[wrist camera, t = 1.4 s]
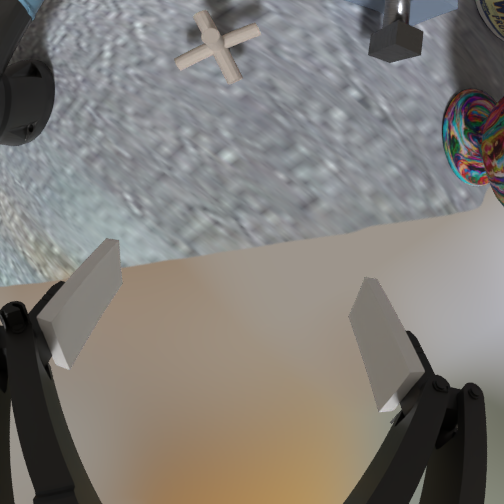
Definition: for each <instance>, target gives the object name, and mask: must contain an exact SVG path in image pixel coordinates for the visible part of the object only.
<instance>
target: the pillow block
mask: <svg viewBox="0 0 504 504" xmlns="http://www.w3.org/2000/svg"><path fill="white" fill-rule="evenodd" d="M345 1H349V2H352V3H355V4H358V5H361V6H364V7H367V8H370V9H373V10H375V11H378V12H381V13H383V14H384V9H385V0H345ZM456 9H458V0H411V5H410V19H409V25H411V26H413V25H416V24H418V23H420V22H423V21H425V20H428V19H431V18H433V17H436V16H439V15H441V14H444V13H447V12H450V11H453V10H456Z"/></svg>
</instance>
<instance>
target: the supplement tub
mask: <svg viewBox="0 0 504 504" xmlns="http://www.w3.org/2000/svg"><path fill="white" fill-rule="evenodd" d="M475 1H476V5H477V8H478V11H479V13H480V15H481V17H482V18H483V20H484V22H485V23H486V25H487V26H488V27H489V28H490V30H491V31H492V32H493V33H494V34H495V35H496V36H497V37H499V38H500V39H501V40H503V41H504V0H475Z"/></svg>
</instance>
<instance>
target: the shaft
mask: <svg viewBox="0 0 504 504" xmlns="http://www.w3.org/2000/svg"><path fill="white" fill-rule="evenodd" d="M410 5H411V0H385V9H384V18H383V27H382V29H381V30H379V31H377V32H375V33H374V34H372V35H371V38H370V46H369V52H368V55H369V56H372V57H375V58H378V59H381V60H383V61H386V62H389V63H391V62H395V61H399V60H403V59H407V58H411V57H416V56H420V55H421V50H422V40H423V31H421V30H419V29H417V28H415V27H412V26H410V25H409V19H410Z"/></svg>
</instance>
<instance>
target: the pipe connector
mask: <svg viewBox="0 0 504 504" xmlns="http://www.w3.org/2000/svg"><path fill="white" fill-rule="evenodd" d="M193 18H194V20H195V22H196V24H197V25H198V27H199V29H200V31H201V33H202V35H201V39H202V41H203V42H204V44H202V45H200V46H198V47H196V48H194V49H192V50H190V51H188V52H186V53H184V54H182V55H180V56H179V57H177V58H175V59H174V61H175V63H176V65H177V67H178V68H179V69H180V70H183V69H185V68H187V67H189V66H191V65H193V64H195V63H197V62H199V61H201V60H203V59H205V58H207V57H210V56H212V55H214V57H215V59H216V61H217V63H218V65H219V67H220V69H221V71H222V73H223V75H224V77H225V79H226V81H227V83H228V84H232V83H235V82H237V81H239V80H241V79H243V77H242V75H241V73H240V71H239V69H238V67H237V65H236V63H235V61H234V59H233V57H232V55H231V53H230V51H229V49H228V48H230V47H232V46H234V45H237V44H239V43H242V42H244V41H247V40H249V39H252V38H255V37H257V36H260V35H261V32H260V30H259V28H258V26H257V25H256V23H252V24H250V25H247V26H244V27H242V28H239V29H237V30H234V31H232V32H229V33H227V34H225V35H222V36H221V34H220V33H219V31H218V29H217V27H216V25H215V23H214V22H213V20H212V18H211V16H210V14H209V13H208V11H206V10H204V11H200V12H198V13H196V14H195V15H194V16H193Z"/></svg>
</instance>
